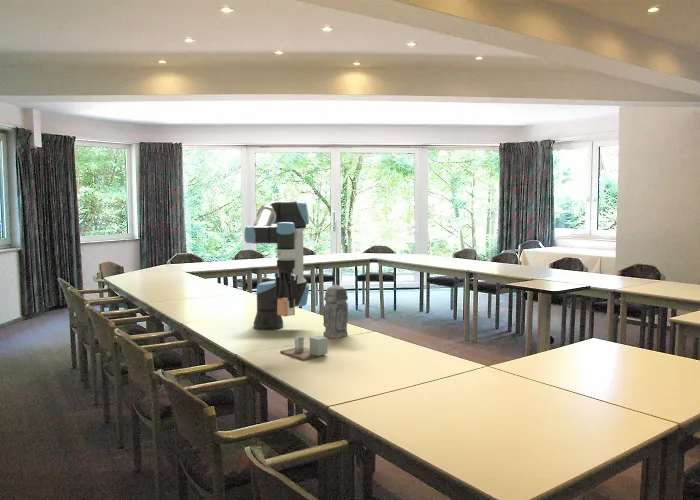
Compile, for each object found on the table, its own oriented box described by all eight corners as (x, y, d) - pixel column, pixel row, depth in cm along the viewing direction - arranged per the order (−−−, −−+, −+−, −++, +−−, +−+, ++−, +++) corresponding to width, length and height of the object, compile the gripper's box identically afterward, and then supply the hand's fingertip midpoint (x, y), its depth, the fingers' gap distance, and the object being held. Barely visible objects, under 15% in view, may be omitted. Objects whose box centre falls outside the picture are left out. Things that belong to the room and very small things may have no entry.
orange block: (277, 314, 234) (277, 299, 234) (287, 313, 237) (287, 297, 237) (284, 316, 230) (284, 300, 230) (294, 315, 234) (294, 299, 233)
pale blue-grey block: (309, 353, 233) (309, 337, 232) (319, 351, 236) (319, 335, 236) (317, 355, 229) (317, 339, 229) (327, 353, 233) (327, 337, 232)
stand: (280, 352, 237) (280, 350, 237) (300, 348, 244) (300, 346, 244) (303, 360, 225) (303, 358, 225) (324, 355, 232) (324, 353, 232)
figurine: (352, 334, 270) (352, 283, 268) (331, 339, 260) (331, 286, 258) (338, 331, 277) (338, 281, 275) (317, 336, 266) (317, 284, 264)
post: (294, 351, 236) (294, 337, 235) (299, 350, 238) (299, 336, 237) (298, 352, 234) (298, 338, 234) (303, 351, 236) (303, 337, 235)
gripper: (266, 258, 236) (266, 312, 238) (291, 261, 223) (291, 318, 224) (281, 257, 241) (281, 310, 243) (306, 260, 228) (306, 316, 229)
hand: (286, 314), depth 234 cm, fingers closed on orange block, 5 cm apart
